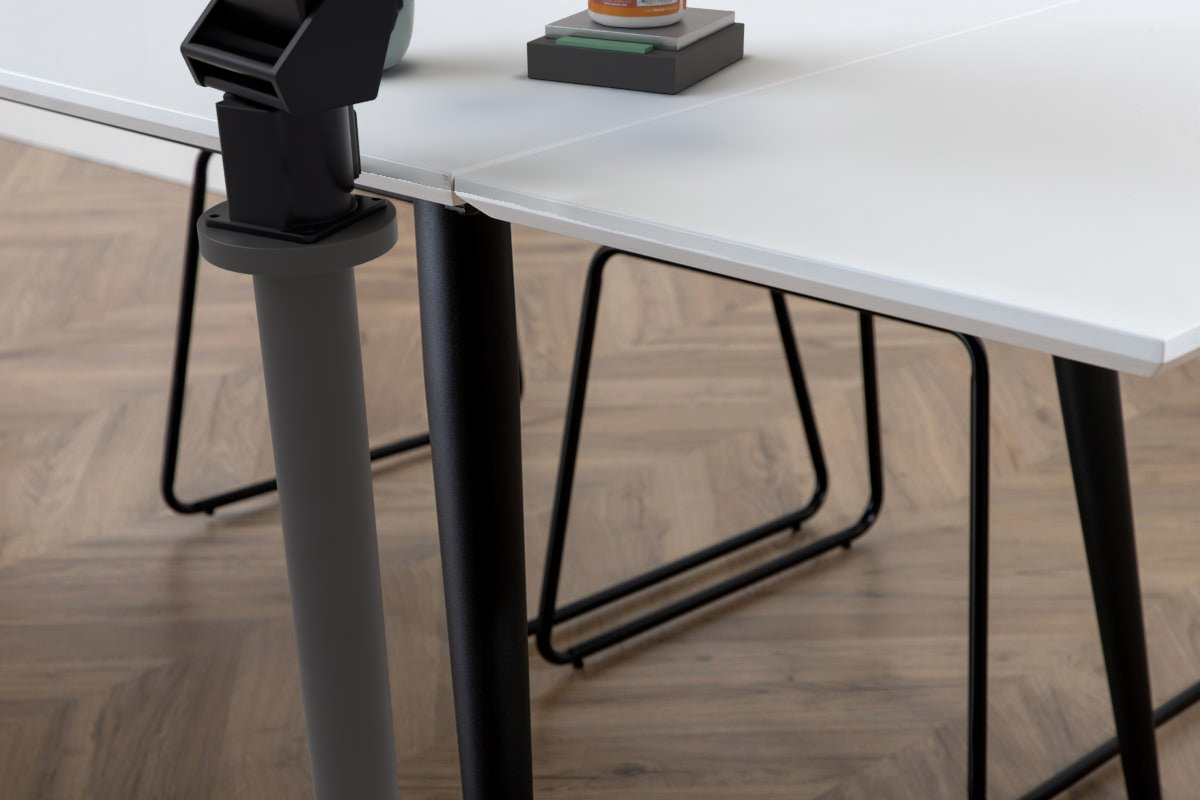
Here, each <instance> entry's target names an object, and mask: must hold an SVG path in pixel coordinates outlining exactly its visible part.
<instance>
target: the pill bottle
mask: <svg viewBox="0 0 1200 800" xmlns="http://www.w3.org/2000/svg"><path fill="white" fill-rule="evenodd" d="M686 7H687V0H587V9H588V12H589V15H590V17H591V18H592V19H593V20H594V21H595V22H597V23H600V24H602V25H606V26H612V27H626V28H645V27H658V26H666V25H670V24H673V23H676V22H678V21H679V20H681V19H682V18H683V17H684V15H685V13H686Z"/></svg>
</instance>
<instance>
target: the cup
mask: <svg viewBox="0 0 1200 800" xmlns="http://www.w3.org/2000/svg"><path fill="white" fill-rule="evenodd" d="M415 7H416V0H404V7H403V9H402V11H400V12H399V14H398V17H397V20H396V24H395V27H394V30H393V32H392V33H391V36H390V41H389V45H388V50H387V54H386V59H385V64H384V68H383V72H384V71H387V70H389V69H391V68H393V67H395V66H396V65H397V64H398V63H399V62H401V61H402V60H403V58H404V57H405V56H406V54H407V51H408V49H409V47H410V45H411V41H412V37H413V31H414V25H415V14H416V13H415V12H416V8H415Z"/></svg>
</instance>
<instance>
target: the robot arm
mask: <svg viewBox="0 0 1200 800" xmlns="http://www.w3.org/2000/svg"><path fill="white" fill-rule="evenodd" d="M403 7H404V0H209V2H208V3H207V5H206V6H205V8H204V9H203V11H202V12H201V14H200V15H199V17H198V18H197V20H196V21H195V23H194V24H193V25H192V26H191V28H190V30H189V32H188V33H187V35H186V36H185V37H184V39H183V40H182V41H181V44H180V45H179V51H180V54H181V56H182V58H183V61H184V62H185V65H186V66H187V68H188V70H189V73H190V75H191V77H192V79H193V81H194V83H195V84H196V85H197V86H200V87H203V88H210V89H214V90H217V91H221V92H223V94H222V100H220V101H217V102H215V103H214V104H215V112H216V120H217V121H216V122H217V128H218V136H219V145H220V153H221V161H222V168H223V169H222V170H223V176H224V177H223V178H224V184H225V193H226V201H227V202H228V206H226V207H223V208H221V209H219V210H216V211H214V212H212V213H209V214H207V215H205V216H204V220H205V226H207V227H211V228H216V229H222V230H227V231H233V232H238V233H244V234H249V235H255V236H260V237H266V238H271V239H277V240H282V241H288V242H293V243H299V244H315V243H317V242H319V241H321V240H323V239H325V238H327V237H329V236H331V235H333V234H335V233H337V232H339V231H341V230H343V229H345V228H347V227H349V226H351V225H353V224H355V223H357V222H359V221H361V220H363V219H365V218H367V217H369V216H371V215H373V214H375V213H377V212H379V211H381V210H383V209H385V208H387V199H388V198H383V197H375V196H369V195H363V194H356V193H352V192H354V189H355V181H356V180H357V179H359V178H360V175H362V173H363V172H362V164H361V162H362V161H361V150H360V138H359V137H360V136H359V127H358V125H359V124H358V114H357V111H356V109H355V106H354V105H358V104H362V103H367V102H368V103H369V102H371V101H372V102H373V101H375V100H376V99H377V98H378V95H379V91H380V86H381V82H382V77H383V72H384V71H383V68H384V64H385V59H386V54H387V50H388V45H389V41H390V36H391V33H392V32H393V30H394V27H395V24H396V20H397V17H398V14H399V12H400V11H402V9H403Z"/></svg>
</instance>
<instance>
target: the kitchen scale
mask: <svg viewBox="0 0 1200 800" xmlns="http://www.w3.org/2000/svg"><path fill="white" fill-rule="evenodd" d="M735 21H736V11H734V10H726V9H725V10H723V9H715V8H714V9H712V8H704V7H703V8H702V7H692V6H691V7H690V6H686V13H685V15H684V17H683V18H682V19H681V20H679V21H678V22H676V23H673V24H670V25H666V26H658V27H645V28H626V27H612V26H606V25H602V24H600V23H597V22H595V21H594V20H593V19H592V18H591V17H590V15H589V12H588V8H586V9H584V10H582V11H579V12H577V13H574V14H570V15H569V16H566V17H563V18H560V19H558V20H556V21H552V22H550V23H548V24H545V25H544V35H542V36H540V37H536V38H534V39H532V40H530V41H527V42H526V61H527V63H526V64H527V65H526V66H527V77H528V78H530V79H537V80H545V81H555V82H565V83H571V84H572V83H573V84H580V85H589V86H598V87H608V88H615V89H623V90H624V89H625V90H632V91H641V92H651V93H659V94H666V95H676V94H677V93H679V92H681V91H683V90H684V89H686V88H688V87H690V86H692V85H694V84H696V83H697V82H699V81H702V80H703V79H705V78H707V77H709V76H710V75H713V74H714V73H717V72H718V71H720V70H722V69H723V68H726V67H727V66H729V65H731V64H733V63H735V62H736V61H738V60H740V59H742V58H743V57H744V53H745V51H744V49H745V22H735Z"/></svg>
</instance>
